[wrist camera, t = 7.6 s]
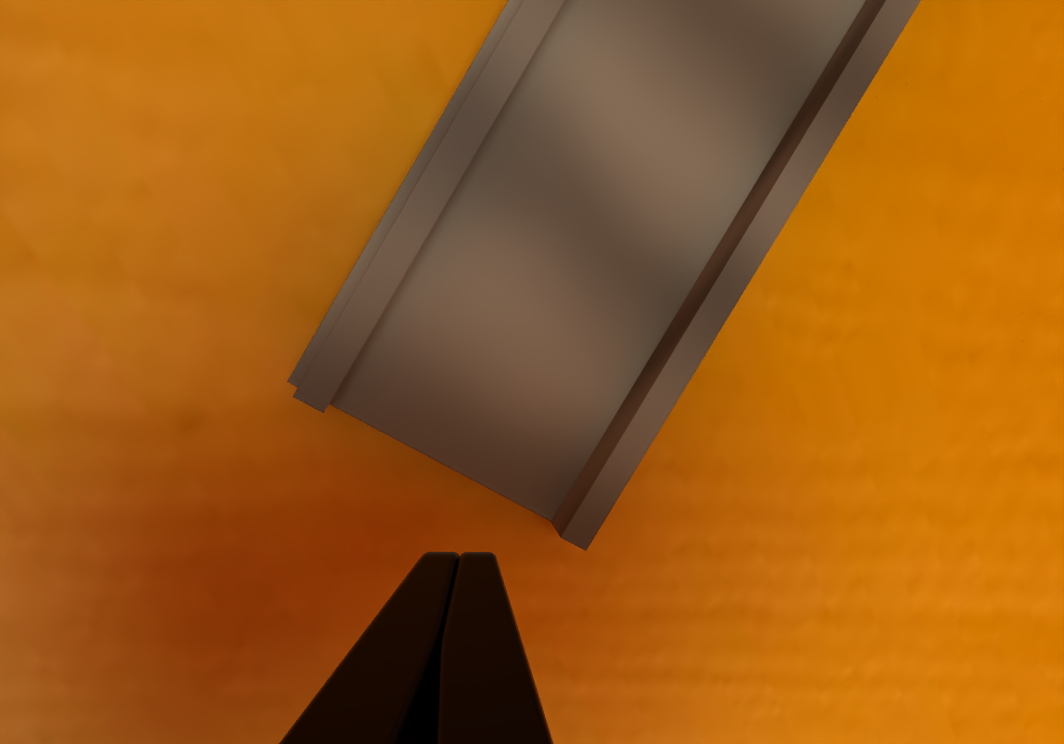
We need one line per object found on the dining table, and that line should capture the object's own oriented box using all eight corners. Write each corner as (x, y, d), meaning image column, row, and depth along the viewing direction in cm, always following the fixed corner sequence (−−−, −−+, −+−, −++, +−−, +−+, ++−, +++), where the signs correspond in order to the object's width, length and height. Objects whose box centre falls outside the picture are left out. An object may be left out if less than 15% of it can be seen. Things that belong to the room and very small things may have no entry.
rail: (571, 520, 23) (642, 624, 17) (293, 372, 21) (256, 428, 15) (1047, -267, 22) (1314, -470, 16) (806, -512, 20) (1004, -861, 14)
